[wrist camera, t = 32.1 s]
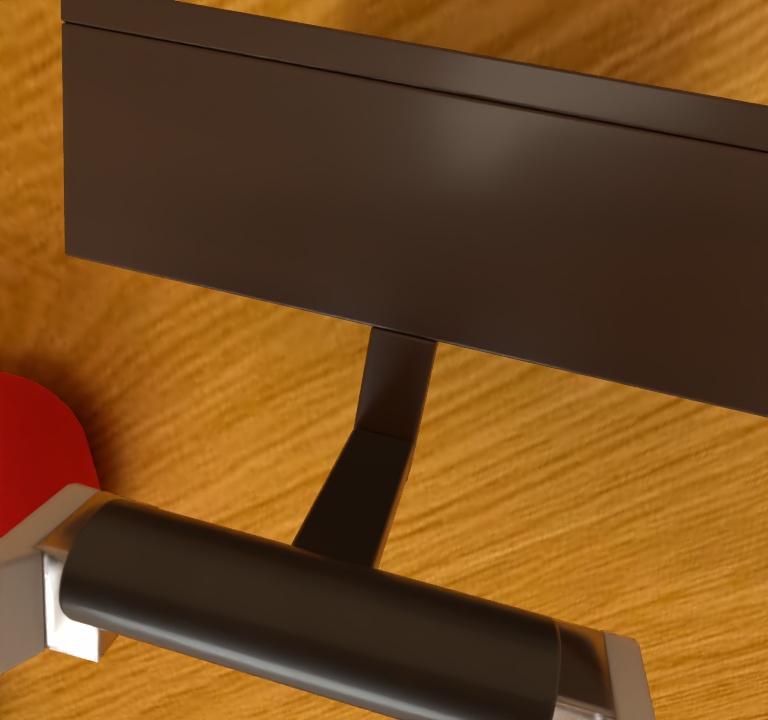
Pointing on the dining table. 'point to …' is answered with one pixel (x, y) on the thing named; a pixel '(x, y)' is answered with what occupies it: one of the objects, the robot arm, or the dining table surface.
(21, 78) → the dining table surface
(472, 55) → the dark brown open tray
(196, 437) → the dining table surface
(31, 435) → the tomato
